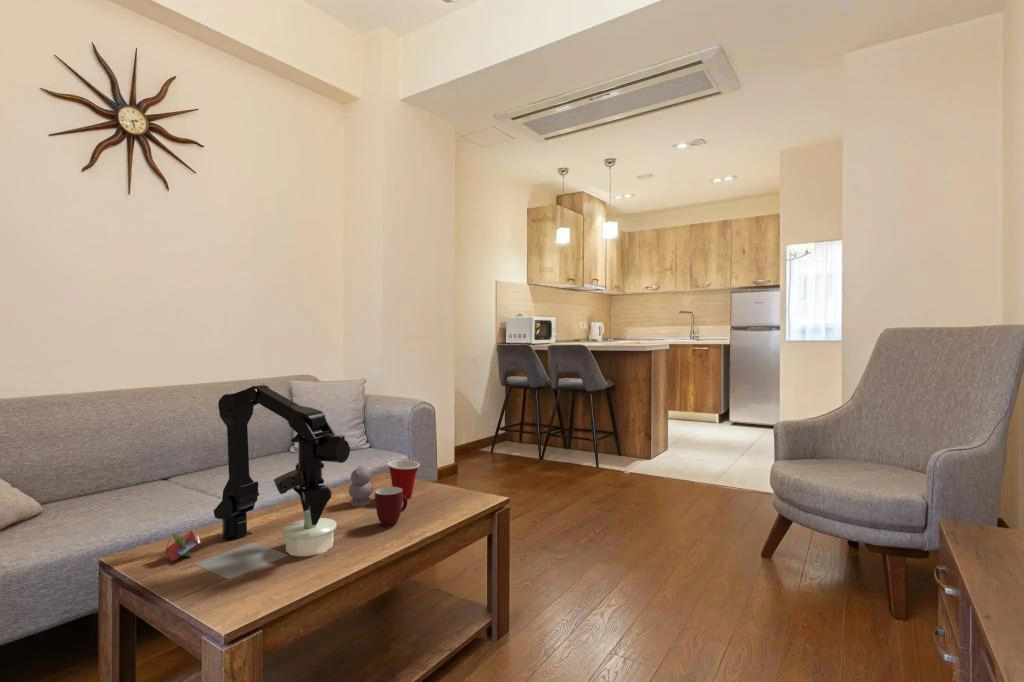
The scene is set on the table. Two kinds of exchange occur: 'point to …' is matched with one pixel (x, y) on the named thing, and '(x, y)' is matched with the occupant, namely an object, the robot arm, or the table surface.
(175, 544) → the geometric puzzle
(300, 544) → the bowl
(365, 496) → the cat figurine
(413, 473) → the plastic cup
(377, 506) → the mug
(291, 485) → the robot arm
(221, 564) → the mat
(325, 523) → the lid
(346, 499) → the table surface
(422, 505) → the table surface
